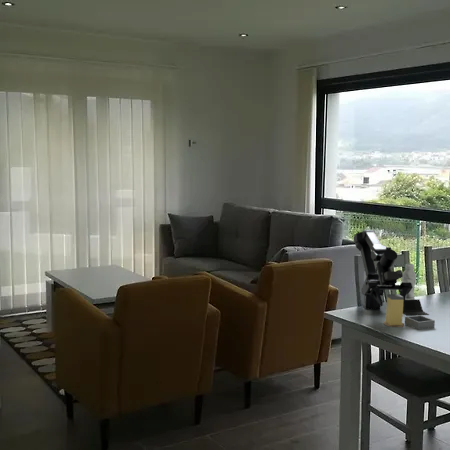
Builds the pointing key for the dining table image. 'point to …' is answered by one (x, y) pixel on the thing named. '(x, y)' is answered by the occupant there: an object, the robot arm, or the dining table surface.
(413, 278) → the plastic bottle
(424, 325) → the case
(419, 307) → the black wedge stand
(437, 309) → the dining table surface
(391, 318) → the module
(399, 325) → the pad
